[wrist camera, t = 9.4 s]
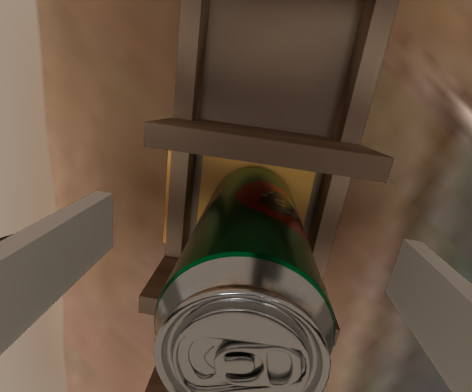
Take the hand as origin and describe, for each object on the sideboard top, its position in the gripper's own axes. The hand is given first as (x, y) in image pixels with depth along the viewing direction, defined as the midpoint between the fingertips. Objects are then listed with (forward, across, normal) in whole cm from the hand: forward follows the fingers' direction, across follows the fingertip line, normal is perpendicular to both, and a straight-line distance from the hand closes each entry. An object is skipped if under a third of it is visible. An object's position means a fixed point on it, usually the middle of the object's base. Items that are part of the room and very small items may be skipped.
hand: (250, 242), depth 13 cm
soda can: (+6, 0, 0) cm, 6 cm away
